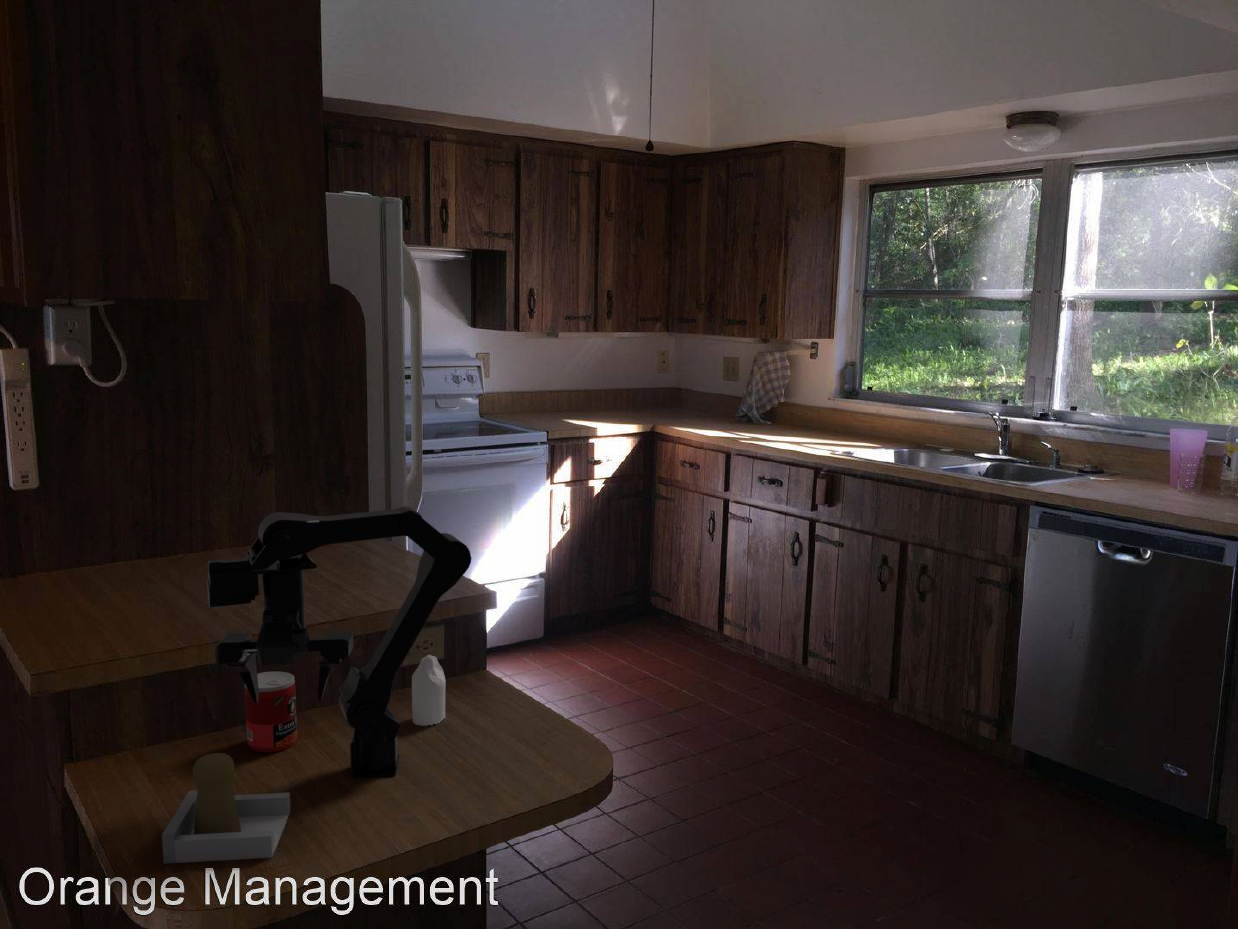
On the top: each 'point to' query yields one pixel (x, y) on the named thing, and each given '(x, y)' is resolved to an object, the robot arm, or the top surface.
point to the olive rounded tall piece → (215, 795)
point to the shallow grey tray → (256, 839)
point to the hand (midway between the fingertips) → (288, 701)
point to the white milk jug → (428, 692)
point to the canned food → (272, 713)
